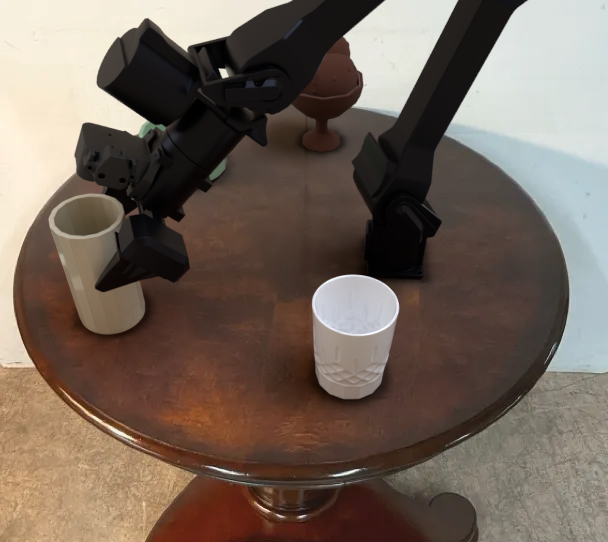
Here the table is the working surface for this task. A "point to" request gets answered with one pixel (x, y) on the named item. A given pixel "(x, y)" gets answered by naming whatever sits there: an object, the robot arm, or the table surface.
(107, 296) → the cream cup
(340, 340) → the white cup
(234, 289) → the table surface
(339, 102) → the ice cream bowl
